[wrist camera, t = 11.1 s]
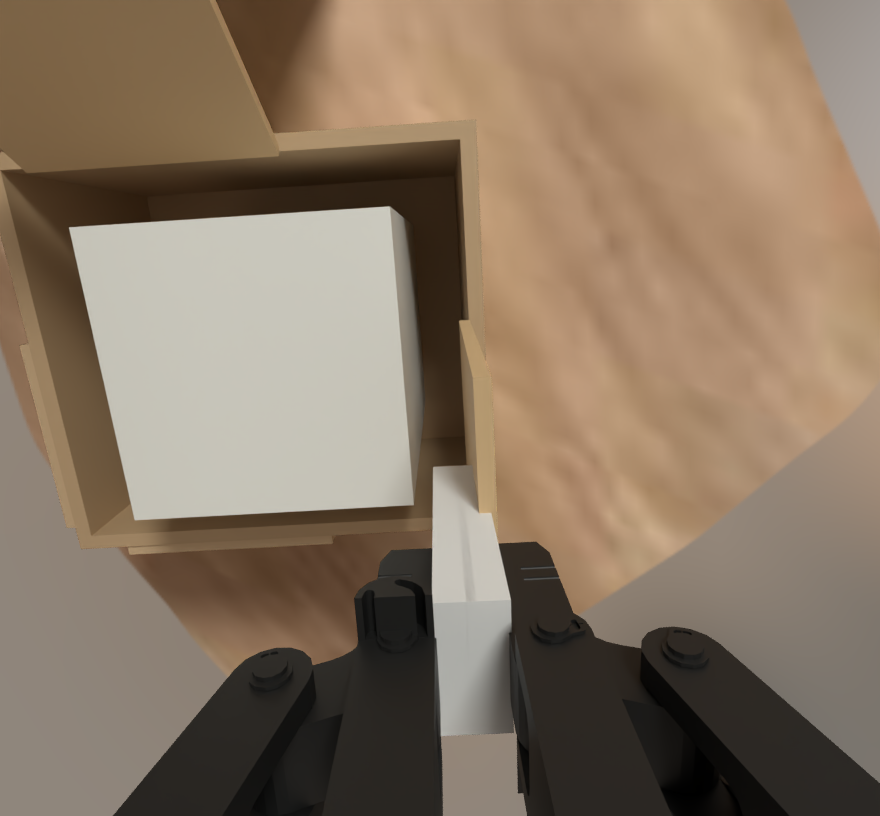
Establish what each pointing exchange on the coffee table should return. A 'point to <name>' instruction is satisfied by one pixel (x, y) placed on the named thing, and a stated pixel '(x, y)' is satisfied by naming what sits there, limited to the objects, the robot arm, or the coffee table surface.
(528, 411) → the coffee table surface
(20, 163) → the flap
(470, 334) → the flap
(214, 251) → the carton
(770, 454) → the coffee table surface
